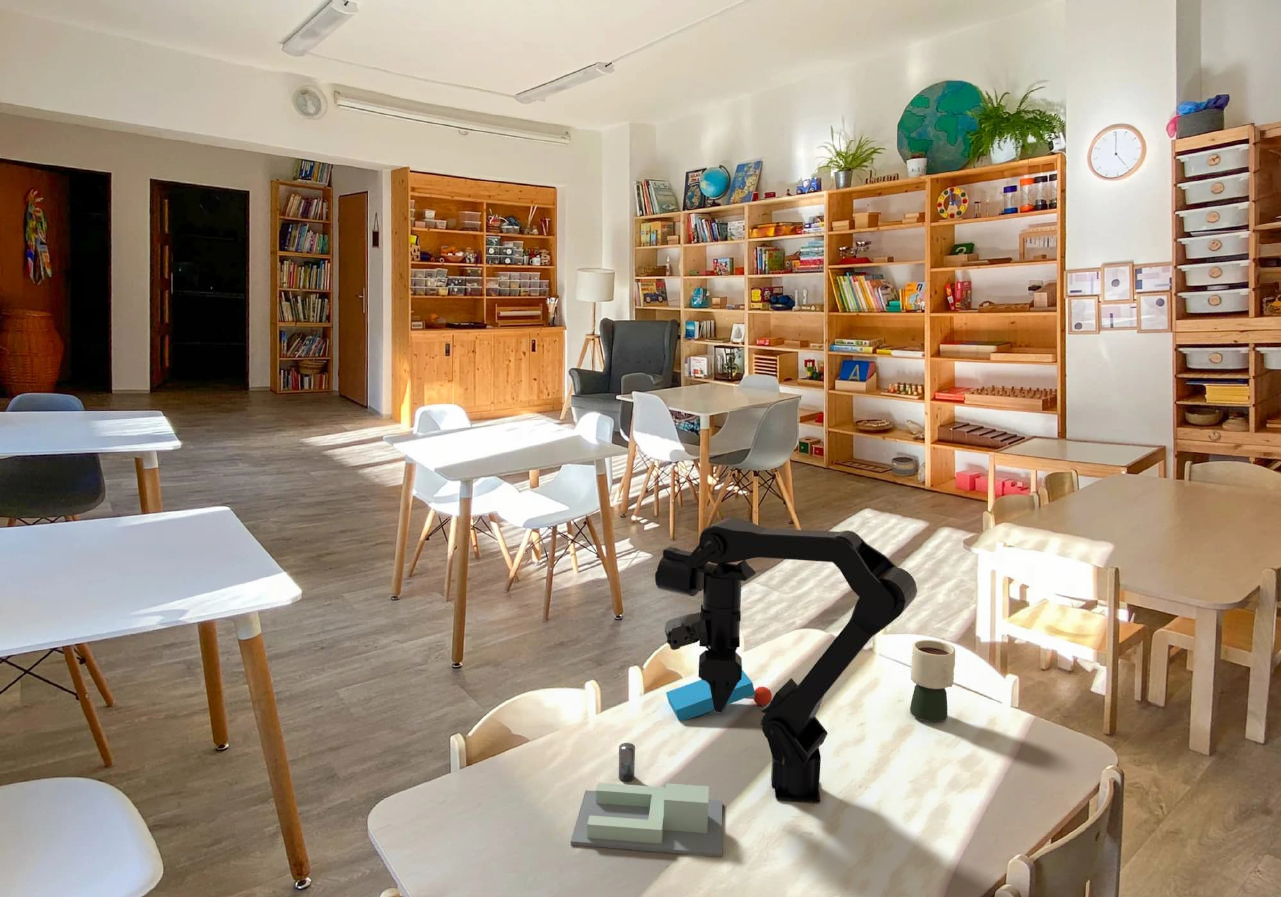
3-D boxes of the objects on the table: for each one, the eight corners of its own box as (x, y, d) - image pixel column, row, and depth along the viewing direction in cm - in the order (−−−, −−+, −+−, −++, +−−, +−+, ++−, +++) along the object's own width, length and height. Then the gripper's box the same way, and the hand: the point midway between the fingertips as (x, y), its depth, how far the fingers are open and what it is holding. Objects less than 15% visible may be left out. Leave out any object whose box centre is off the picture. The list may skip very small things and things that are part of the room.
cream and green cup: (965, 729, 147) (972, 658, 144) (929, 734, 145) (935, 662, 142) (927, 700, 157) (932, 633, 155) (893, 705, 155) (898, 637, 153)
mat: (722, 803, 124) (722, 800, 124) (721, 856, 112) (721, 853, 112) (585, 793, 126) (585, 790, 126) (570, 844, 114) (570, 841, 114)
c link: (708, 803, 123) (709, 774, 122) (706, 847, 113) (707, 816, 112) (597, 795, 124) (598, 766, 124) (587, 837, 115) (587, 807, 114)
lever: (685, 745, 149) (780, 710, 152) (675, 710, 147) (771, 675, 150) (675, 726, 156) (766, 692, 158) (665, 692, 154) (757, 659, 157)
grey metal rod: (635, 773, 131) (635, 743, 130) (633, 782, 129) (634, 751, 128) (619, 772, 131) (620, 742, 130) (617, 781, 129) (618, 750, 128)
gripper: (672, 579, 140) (669, 669, 142) (664, 622, 121) (662, 724, 124) (740, 582, 139) (737, 673, 141) (743, 626, 120) (739, 729, 123)
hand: (718, 697), depth 133 cm, fingers open, 9 cm apart
